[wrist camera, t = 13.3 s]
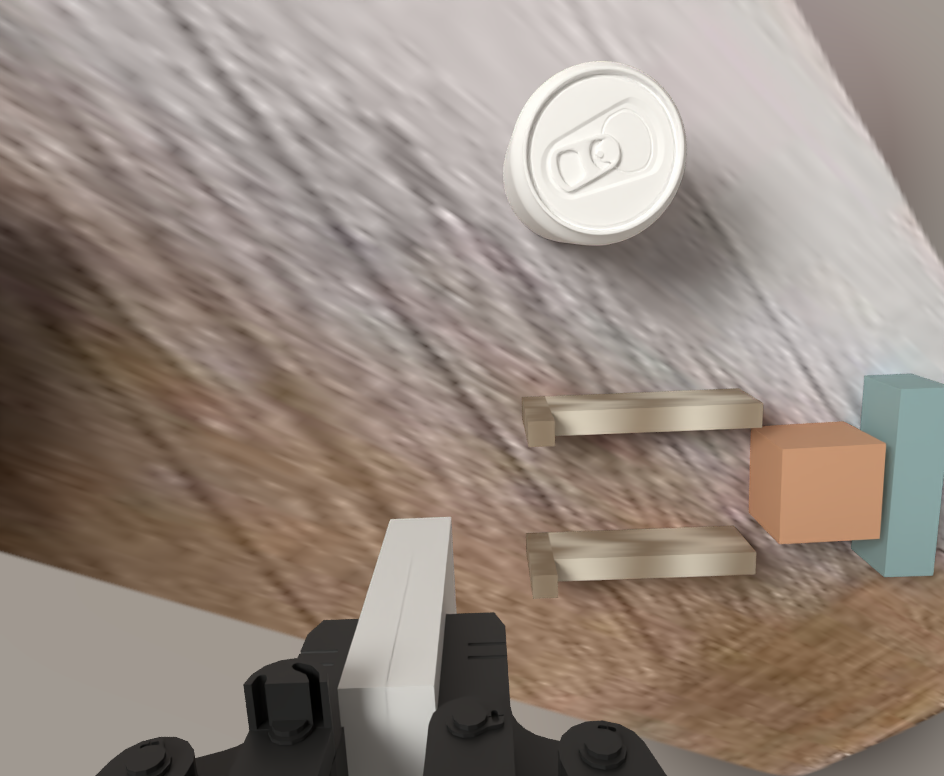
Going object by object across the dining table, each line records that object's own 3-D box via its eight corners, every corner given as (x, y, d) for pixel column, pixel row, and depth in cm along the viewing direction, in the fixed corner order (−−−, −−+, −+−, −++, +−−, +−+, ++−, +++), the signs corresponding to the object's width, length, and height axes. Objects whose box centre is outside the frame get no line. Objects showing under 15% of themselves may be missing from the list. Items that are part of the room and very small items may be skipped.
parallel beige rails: (526, 553, 48) (533, 598, 42) (521, 397, 46) (528, 421, 40) (732, 546, 48) (768, 590, 42) (738, 388, 45) (777, 411, 39)
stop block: (851, 548, 48) (884, 577, 44) (864, 375, 45) (901, 389, 41) (895, 547, 47) (933, 575, 44) (911, 373, 45) (953, 387, 41)
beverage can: (655, 210, 43) (721, 202, 31) (532, 263, 44) (552, 274, 32) (608, 80, 41) (658, 20, 30) (481, 137, 42) (482, 101, 30)
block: (748, 512, 47) (779, 544, 42) (750, 426, 46) (782, 449, 41) (837, 507, 47) (879, 538, 42) (842, 420, 46) (886, 443, 41)
